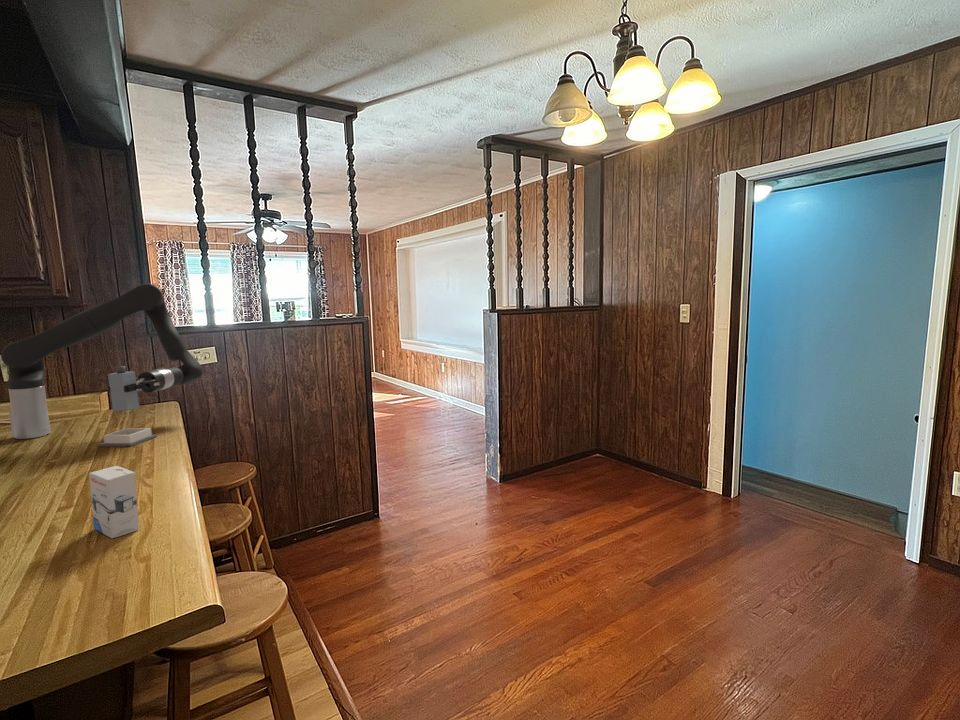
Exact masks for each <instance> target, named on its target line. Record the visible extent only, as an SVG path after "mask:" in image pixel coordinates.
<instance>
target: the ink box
mask: <svg viewBox="0 0 960 720" xmlns="http://www.w3.org/2000/svg"><path fill="white" fill-rule="evenodd" d="M88 474H89V475H88V476H89V485H90V496H91V507H92V518H93V519H92V520H93V529H94V530H96V531H98V532H100V533H101V534H103V535H105V536H107V537H108V538H110V539H115V538H118V537H121V536H125V535H128V534H131V533H134V532H137V531H140V530H139V529H140V524H139V513H138V500H137V499H138V498H137V486H136V484H137V483H136V473H135V472H134V471H132V470H131V469H130V470H129V469H127V468H124V467H121V466H119V465H114V466H109V467H106V468H103V469H99V470H96V471H91V472H89V473H88Z"/></svg>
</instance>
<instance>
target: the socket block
mask: <svg viewBox="0 0 960 720" xmlns="http://www.w3.org/2000/svg"><path fill="white" fill-rule="evenodd" d="M157 436H158V434H153V433H152V428H151V427H150V428H149V427H147V428H146V427H145V428H144V427H130V428H129V427H125V428H122V429H120V430H116V431H113V432H110V433H107V434H104V435H103V441H104V442H101V443H98V447H126V446H131V447H134V446H136V444H137V445H139V444H141V442H142V443H144V442H143V441H145V442H147V441H150V440H152V439H151V438H153V439H155V438H157ZM154 437H155V438H154ZM149 439H150V440H149ZM146 440H147V441H146ZM138 443H139V444H138ZM133 445H134V446H133Z"/></svg>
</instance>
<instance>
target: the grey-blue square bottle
mask: <svg viewBox="0 0 960 720" xmlns="http://www.w3.org/2000/svg"><path fill="white" fill-rule="evenodd" d="M115 369H116V372H113V373H108V374H107V376H108V378H107V379H108V384H109V385H108V386H110V401H111V407H112V408H111V409H112V411H113V412H116V411H117V412H118V411H119V412H123V411H124V412H127V411H132V410H135V409H137V408H140V402H139V394H138V391H131V392H124V386H126V385H130V384H134V383H136V378H137V377H136V371H127V368H126V365H121V366H116V368H115Z"/></svg>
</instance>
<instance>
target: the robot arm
mask: <svg viewBox="0 0 960 720" xmlns="http://www.w3.org/2000/svg"><path fill="white" fill-rule="evenodd" d="M141 311H144V313H145V314H146V316H147V317H148V318H149V320H150V322H151V324H152V325H153V327H154V330H155V331H156V334H157V337H158V340H159V342H160V344H161V347H162V349H163V351H164V352H165V354H166V356H167V358H168V359H169V360H170V361H172V362H177V361H180V362H181V363H182V365H180V366H177V367H175V366H171V367H164V368H157V369H151V370H146V371H143V372H141V373H139V375H138V376H137V377H136V383H134V384H130V385H126V386H124V392H131V391H137V392H138V391H139V392H140V391H141V392H142V393H146V394H151V393H155V392H158V391H162V390H165V389H168V388H171V387H174V386H175V387H176V386H182V385H186V384H188V383H191V382H193V381H195V380H198V379H200V378H201V377H202V376H203V374H204V369H203V367H202V365H201V364H200V362H199V361H198V360H197V359H196V358H195V357H194V356H193V355H192V353H191V352H190V351H189V350H188V348H187V346H186V344H185V342H184V341H183V339H182V336H181V335H180V333H179V332H178V330H177V328H176V326H175V324H174V322H173V321H172V319H171V317H170V314H169V312H168V309H167V305H166V302H165V296H164V294H163V292H162V290H161V289H160V288H159V287H158V286H156V285H155V284H151V283H143V284H139V285H137V286H136V287H134V288H132V289H130V290H129V291H127V292H125V293H123V294H121V295H120V296H118V297H115V298H114V299H111V300H108V301H105V302H103V303H100V304H98V305H96V306H93V307H90V308H87V309H85V310H83V311H81V312H79V313H76V314H74V315H72V316H70V317H68V318H66V319H64V320H62V321H60V322H58V323H57V324H55V325H53V326H52V327H50V328H49V329H46V330H43V331H42V332H40V333H37V334H35V335H32V336H29V337H26V338H24V339H23V338H22V339H19V340H17V341H13V342H10V343H9V344H6V345H5V346H4V348H3V349H2V351H1V353H0V359H1V361H2V362H3V364H4V365H6V366H7V368H8V379H7V387H8V395H9V396H8V397H9V402H10V408H11V409H10V410H9V411H8V414H9V421H10V428H11V434H12V439H13V438H15V440H17V439H18V440H29V439H35V438H41V437H45V436H48V435H50V434H51V433H52V432H51V426H50V425H51V424H50V415H49V409H48V408H49V407H48V403H47V402H48V401H47V395H46V388H45V375H46V373H45V365H44V358H46V357H47V356H50V355H51V354H54V353H55V352H58V351H60V350H62V349H65V348H68V347H71V346H73V345H74V346H75V345H77V344H79V343H82V342H85V341H88V340H90V339H92V338H95V337H96V336H98V335H101V334H104V332H107V331H108V330H110V329H111V328H113V327H115V325H117V324H119V323H120V322H121V321H123V320H124V319H126V318H127V317H129V316H131V315H134V314H137V313H138V312H141ZM107 392H108V393H110V385H107ZM110 394H111V393H110ZM49 433H50V434H49ZM47 434H48V435H47Z"/></svg>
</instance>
